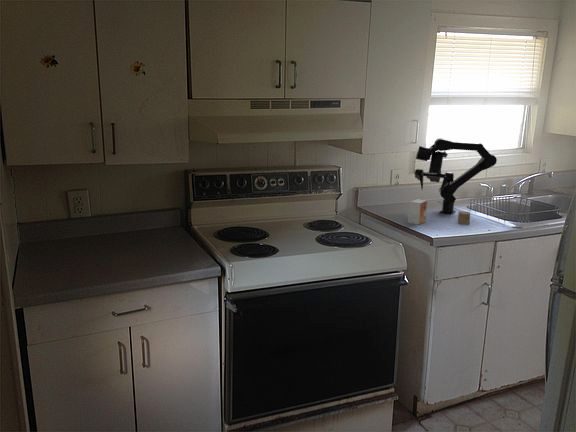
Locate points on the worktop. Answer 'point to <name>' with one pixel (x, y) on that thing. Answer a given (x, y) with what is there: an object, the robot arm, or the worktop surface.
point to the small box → (417, 211)
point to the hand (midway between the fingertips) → (431, 190)
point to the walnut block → (463, 217)
